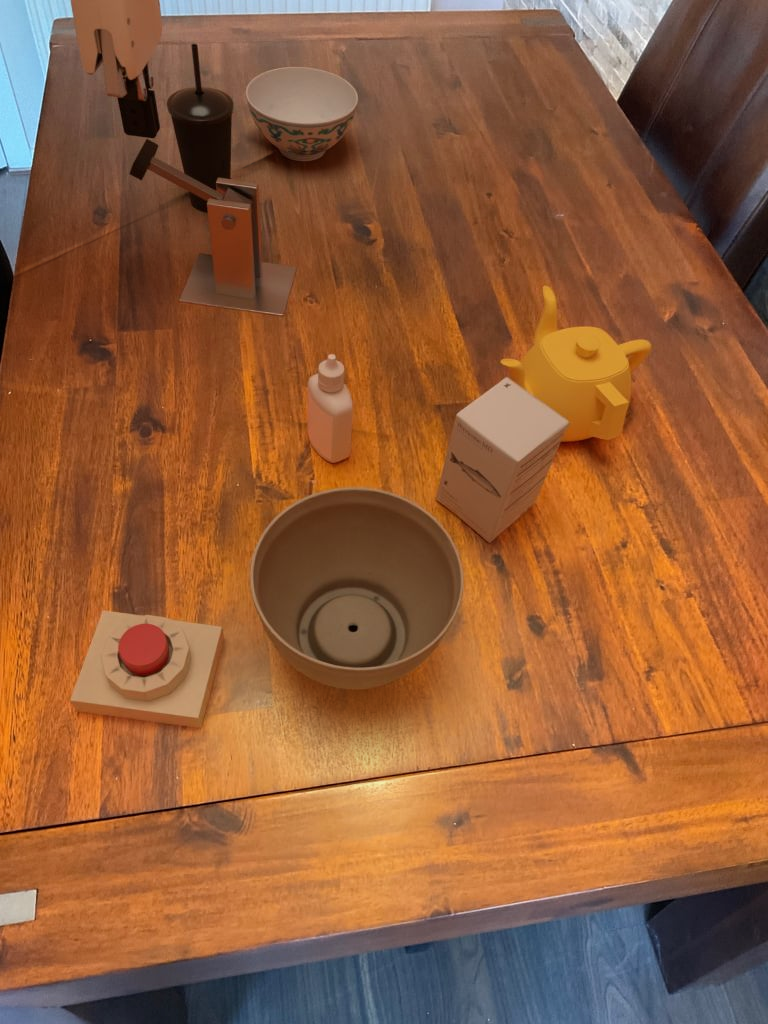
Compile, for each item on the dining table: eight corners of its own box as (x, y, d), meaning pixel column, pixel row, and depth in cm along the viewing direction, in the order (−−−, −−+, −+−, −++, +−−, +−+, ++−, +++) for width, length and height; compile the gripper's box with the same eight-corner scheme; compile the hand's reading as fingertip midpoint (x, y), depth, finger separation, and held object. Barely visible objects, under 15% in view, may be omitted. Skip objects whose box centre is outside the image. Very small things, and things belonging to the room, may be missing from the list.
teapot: (524, 350, 93) (545, 280, 85) (635, 392, 90) (668, 323, 82) (481, 428, 85) (500, 358, 77) (602, 476, 82) (634, 409, 74)
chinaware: (344, 186, 109) (346, 131, 103) (236, 168, 110) (232, 112, 103) (363, 130, 118) (366, 76, 112) (263, 113, 118) (261, 59, 112)
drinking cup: (171, 218, 102) (147, 53, 86) (194, 186, 106) (174, 24, 90) (228, 231, 101) (215, 67, 85) (249, 198, 106) (239, 37, 90)
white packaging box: (432, 500, 79) (452, 411, 68) (482, 462, 82) (507, 372, 72) (488, 547, 76) (518, 462, 66) (537, 505, 79) (572, 419, 69)
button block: (76, 711, 63) (64, 690, 60) (107, 622, 68) (98, 599, 65) (201, 728, 63) (195, 709, 60) (224, 638, 68) (220, 616, 65)
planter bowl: (258, 559, 73) (252, 486, 64) (432, 557, 75) (450, 486, 66) (253, 730, 64) (246, 672, 55) (453, 723, 65) (477, 665, 57)
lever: (127, 178, 81) (133, 159, 80) (141, 152, 84) (148, 133, 83) (237, 236, 86) (245, 220, 84) (246, 209, 89) (255, 193, 87)
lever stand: (180, 308, 92) (164, 209, 82) (199, 260, 97) (187, 162, 87) (283, 323, 92) (281, 225, 82) (297, 274, 97) (296, 177, 87)
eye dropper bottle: (306, 464, 80) (307, 378, 70) (307, 422, 83) (307, 334, 74) (350, 465, 80) (356, 379, 71) (349, 423, 84) (355, 336, 74)
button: (116, 672, 62) (111, 662, 60) (130, 630, 64) (126, 620, 62) (162, 678, 62) (159, 668, 60) (174, 636, 64) (171, 626, 62)
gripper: (88, -122, 70) (127, 91, 85) (24, -56, 61) (80, 168, 76) (173, -111, 70) (198, 100, 85) (121, -43, 61) (159, 179, 76)
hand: (142, 132), depth 80 cm, fingers closed
